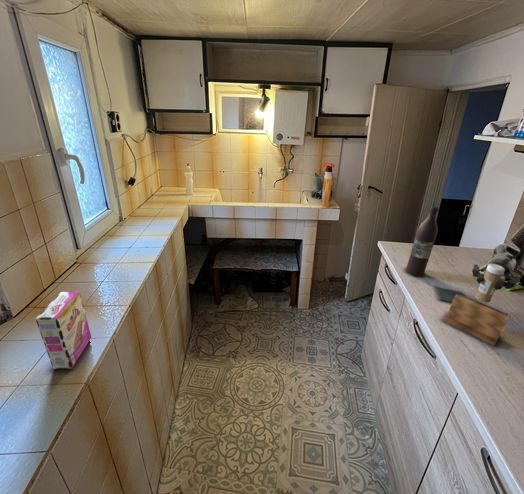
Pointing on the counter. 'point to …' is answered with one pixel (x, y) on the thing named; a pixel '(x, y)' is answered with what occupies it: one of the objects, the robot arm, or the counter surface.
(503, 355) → the counter surface
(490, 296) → the sprinkles bottle
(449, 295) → the mat
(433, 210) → the wine bottle
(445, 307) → the counter surface
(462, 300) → the magnetic knife rack
